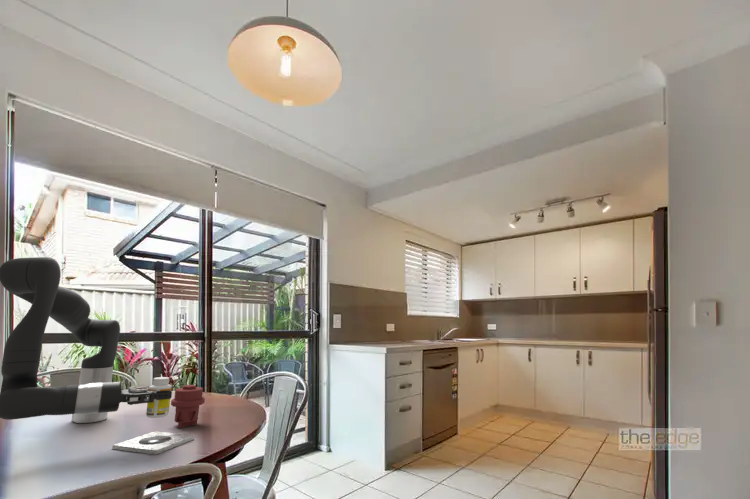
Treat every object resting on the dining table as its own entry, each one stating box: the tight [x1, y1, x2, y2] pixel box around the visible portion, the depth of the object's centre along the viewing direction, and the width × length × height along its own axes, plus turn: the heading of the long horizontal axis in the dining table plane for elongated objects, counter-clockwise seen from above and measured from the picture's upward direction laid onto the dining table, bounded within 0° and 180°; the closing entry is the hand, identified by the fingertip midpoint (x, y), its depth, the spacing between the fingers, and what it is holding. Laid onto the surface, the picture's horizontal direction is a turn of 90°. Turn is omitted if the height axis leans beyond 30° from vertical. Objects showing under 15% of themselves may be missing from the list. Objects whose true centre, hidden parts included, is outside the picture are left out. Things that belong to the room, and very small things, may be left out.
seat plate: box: [112, 430, 195, 456], centre depth 110 cm, size 14×14×1 cm
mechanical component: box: [170, 384, 206, 429], centre depth 131 cm, size 12×10×10 cm
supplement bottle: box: [145, 376, 172, 419], centre depth 112 cm, size 6×6×10 cm
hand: (169, 392), depth 114 cm, fingers closed on supplement bottle, 5 cm apart
